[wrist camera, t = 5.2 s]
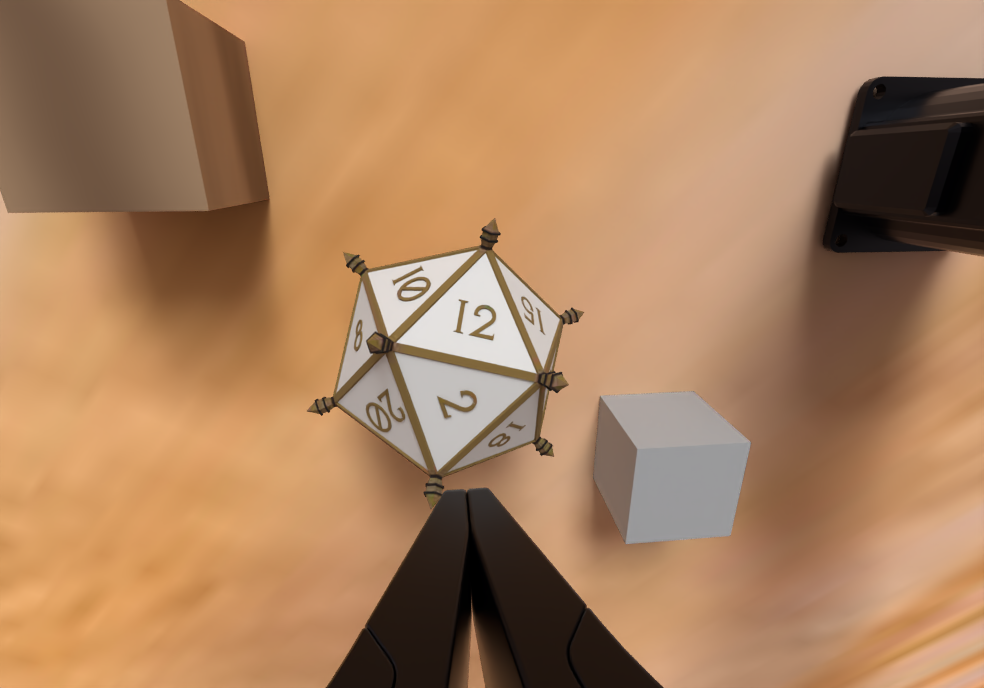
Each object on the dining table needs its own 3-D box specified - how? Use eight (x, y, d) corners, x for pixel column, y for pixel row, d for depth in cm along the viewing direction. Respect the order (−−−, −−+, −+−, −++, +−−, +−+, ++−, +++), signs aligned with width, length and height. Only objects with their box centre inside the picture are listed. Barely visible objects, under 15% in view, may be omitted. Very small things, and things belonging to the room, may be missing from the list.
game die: (456, 337, 24) (424, 548, 18) (312, 232, 19) (208, 485, 13) (621, 271, 19) (645, 532, 14) (491, 103, 14) (444, 421, 8)
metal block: (245, 42, 16) (164, -10, 11) (270, 199, 18) (208, 210, 13) (83, 38, 15) (-72, -18, 11) (126, 200, 17) (8, 213, 12)
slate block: (692, 390, 22) (751, 442, 18) (679, 470, 24) (730, 535, 20) (599, 394, 22) (637, 449, 18) (592, 476, 23) (625, 544, 19)
